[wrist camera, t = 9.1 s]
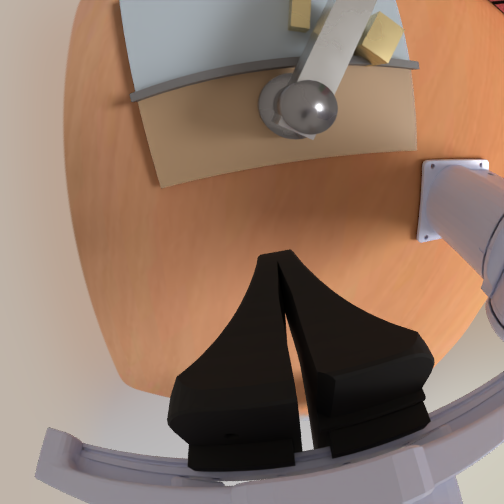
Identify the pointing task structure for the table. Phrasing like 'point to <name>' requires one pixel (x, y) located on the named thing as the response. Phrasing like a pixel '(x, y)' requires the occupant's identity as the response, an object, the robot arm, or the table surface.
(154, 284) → the table surface
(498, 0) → the puzzle cube
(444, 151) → the table surface
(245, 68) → the door board
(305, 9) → the block
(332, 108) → the latch bar
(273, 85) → the pivot base
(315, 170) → the table surface
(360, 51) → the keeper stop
